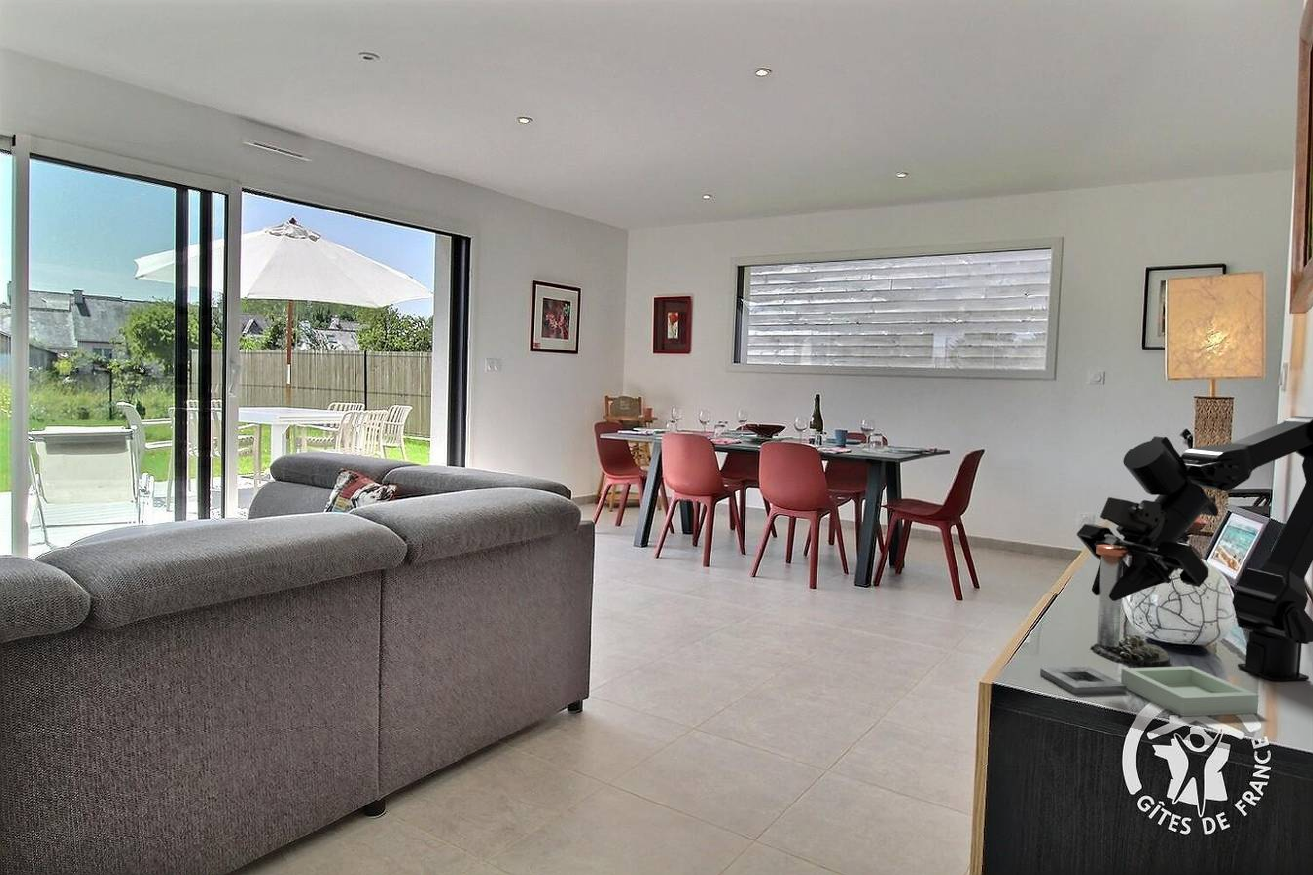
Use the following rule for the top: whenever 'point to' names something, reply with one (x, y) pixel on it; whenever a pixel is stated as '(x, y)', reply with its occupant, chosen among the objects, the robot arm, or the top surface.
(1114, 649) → the dark brown textured lump
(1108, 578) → the pin
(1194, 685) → the tray
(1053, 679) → the collar plate
